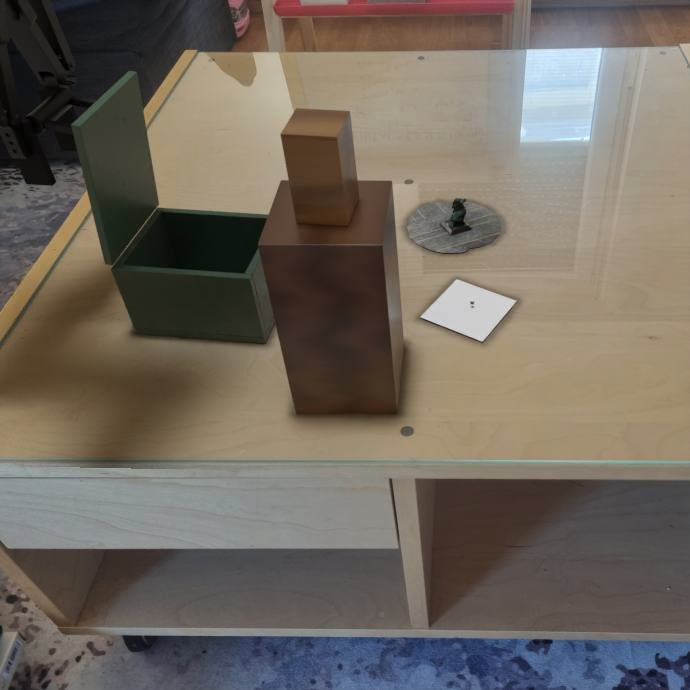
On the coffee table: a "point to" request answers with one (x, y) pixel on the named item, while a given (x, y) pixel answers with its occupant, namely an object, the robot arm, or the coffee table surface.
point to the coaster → (469, 310)
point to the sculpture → (453, 226)
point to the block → (321, 166)
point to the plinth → (337, 303)
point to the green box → (197, 276)
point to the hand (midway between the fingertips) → (58, 165)
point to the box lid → (109, 158)
